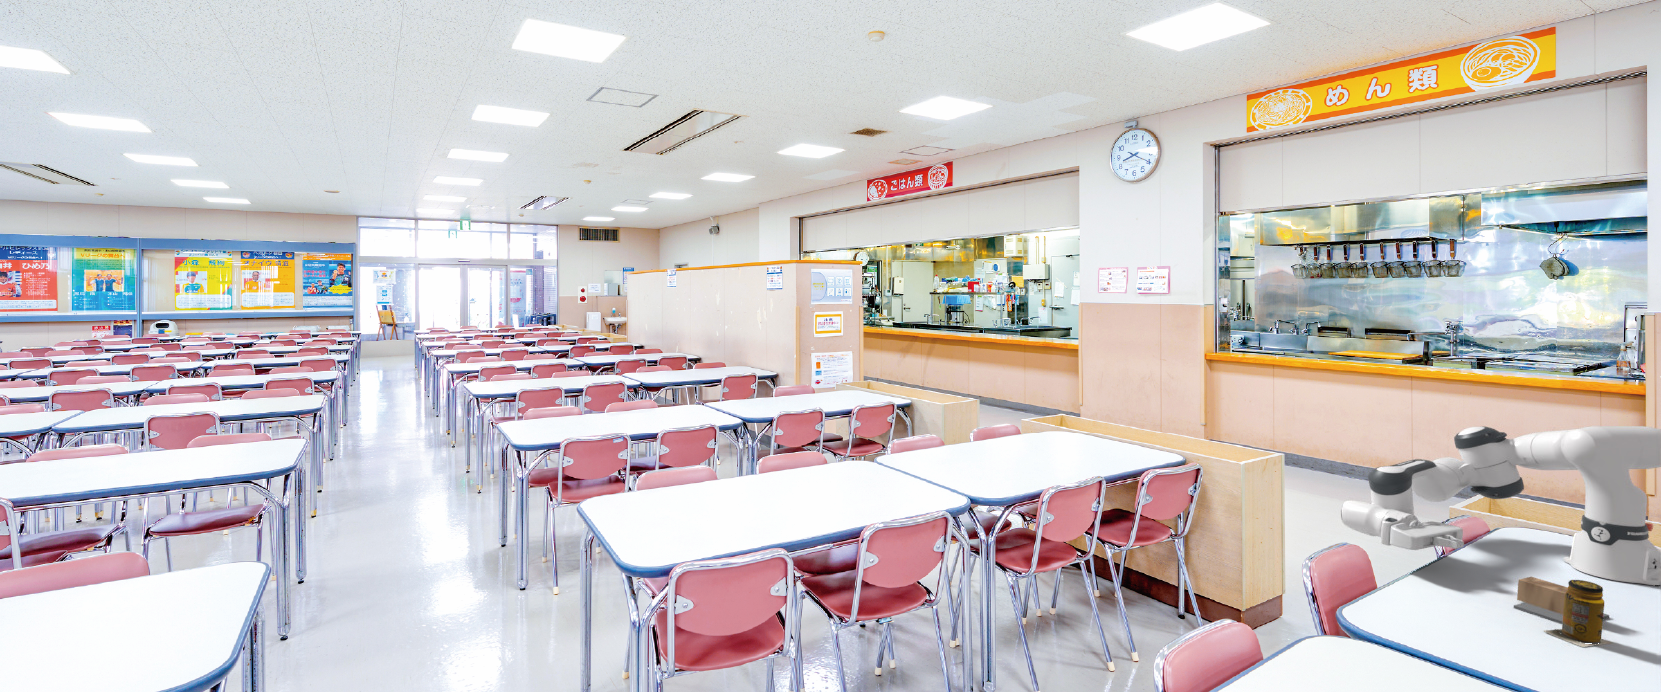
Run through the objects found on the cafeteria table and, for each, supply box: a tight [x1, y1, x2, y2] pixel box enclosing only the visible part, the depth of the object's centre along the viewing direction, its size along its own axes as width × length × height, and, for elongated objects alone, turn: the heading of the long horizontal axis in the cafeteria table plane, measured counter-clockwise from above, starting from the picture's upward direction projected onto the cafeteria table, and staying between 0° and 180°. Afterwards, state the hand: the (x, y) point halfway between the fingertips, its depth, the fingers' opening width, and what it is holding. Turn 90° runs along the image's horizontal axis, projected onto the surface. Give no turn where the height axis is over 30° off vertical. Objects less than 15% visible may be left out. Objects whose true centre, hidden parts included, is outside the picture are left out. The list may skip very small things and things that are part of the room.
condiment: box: [1543, 579, 1613, 648], centre depth 162 cm, size 7×8×12 cm
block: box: [1516, 576, 1568, 615], centre depth 175 cm, size 5×5×13 cm
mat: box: [1513, 602, 1610, 625], centre depth 174 cm, size 14×11×1 cm
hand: (1460, 545), depth 193 cm, fingers closed
